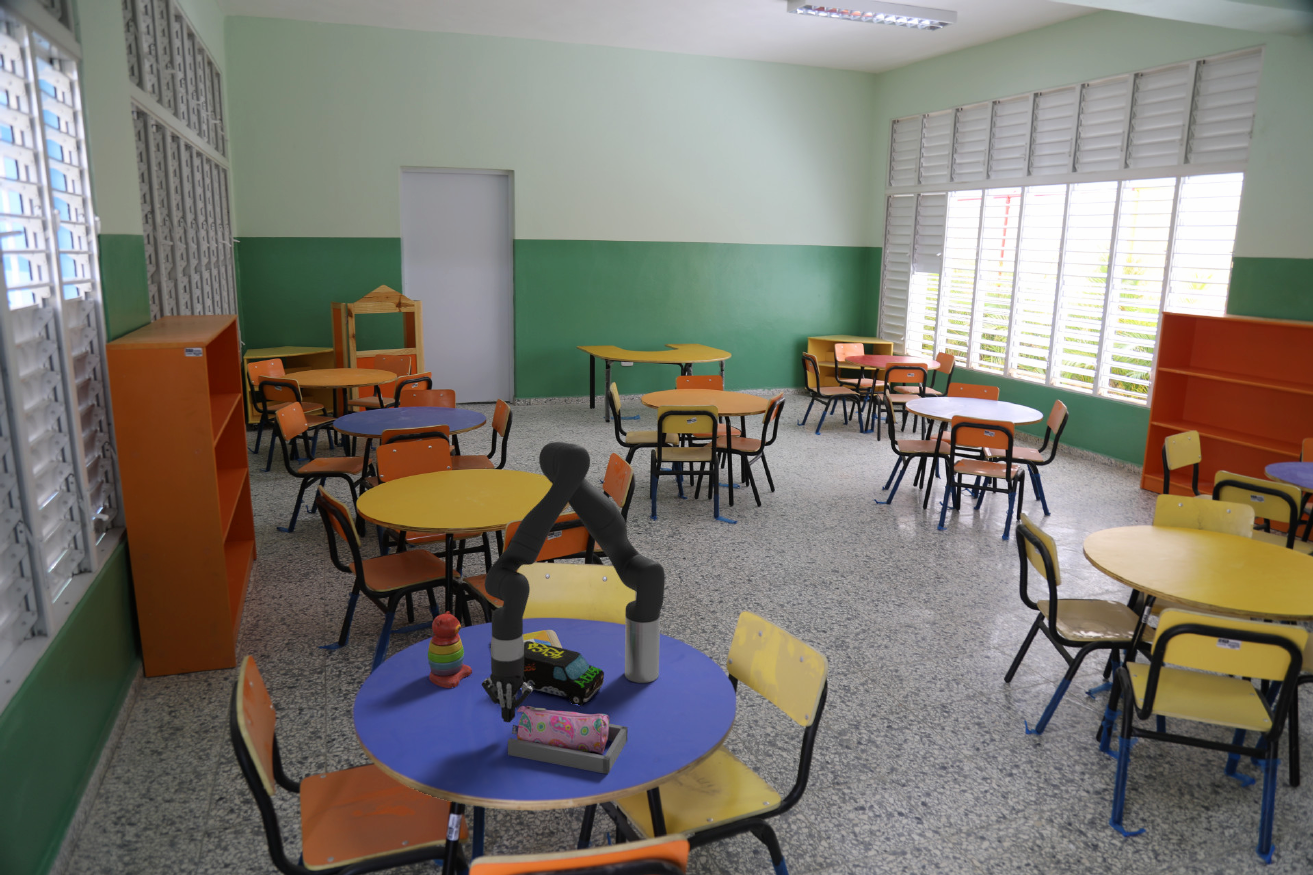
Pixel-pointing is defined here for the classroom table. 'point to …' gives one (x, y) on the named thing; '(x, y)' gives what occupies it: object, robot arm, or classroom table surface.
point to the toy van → (561, 672)
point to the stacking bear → (446, 652)
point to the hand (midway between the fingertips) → (508, 720)
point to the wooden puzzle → (543, 638)
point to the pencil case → (563, 729)
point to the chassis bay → (573, 752)
